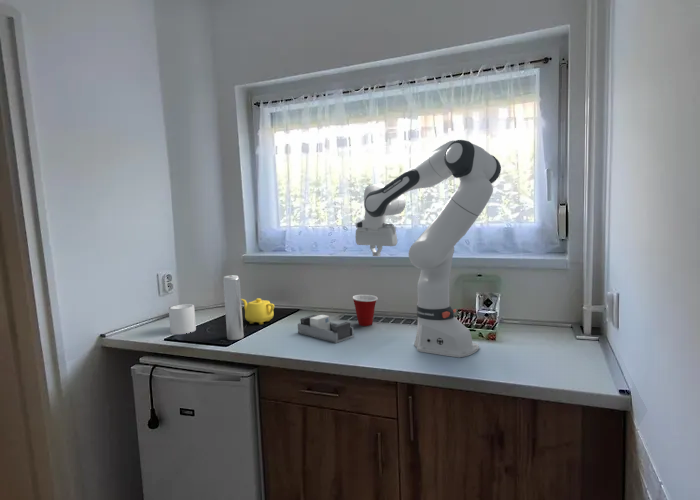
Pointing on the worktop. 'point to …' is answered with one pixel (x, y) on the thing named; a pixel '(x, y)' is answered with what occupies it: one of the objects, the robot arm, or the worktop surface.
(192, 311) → the mug
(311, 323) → the block
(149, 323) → the worktop surface
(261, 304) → the teapot
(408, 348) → the worktop surface
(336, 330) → the grey rectangular tray
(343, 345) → the worktop surface
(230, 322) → the silver cylinder
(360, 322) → the plastic cup
